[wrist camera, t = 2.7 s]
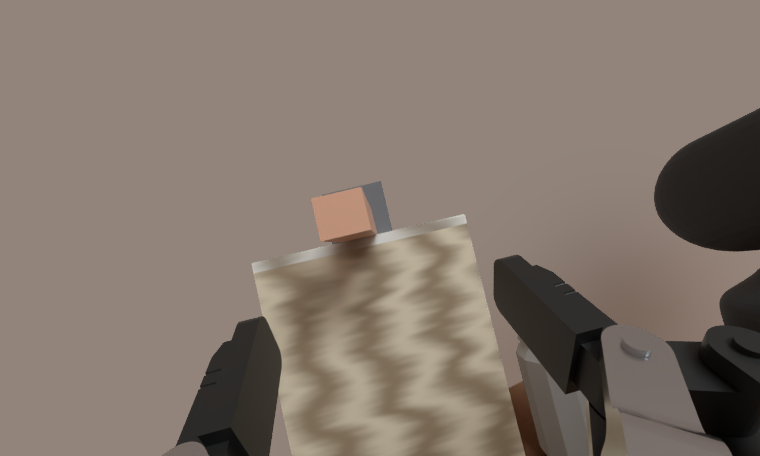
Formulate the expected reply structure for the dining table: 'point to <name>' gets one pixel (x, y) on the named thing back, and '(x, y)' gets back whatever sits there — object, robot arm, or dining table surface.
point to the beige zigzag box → (388, 347)
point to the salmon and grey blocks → (351, 213)
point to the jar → (553, 409)
